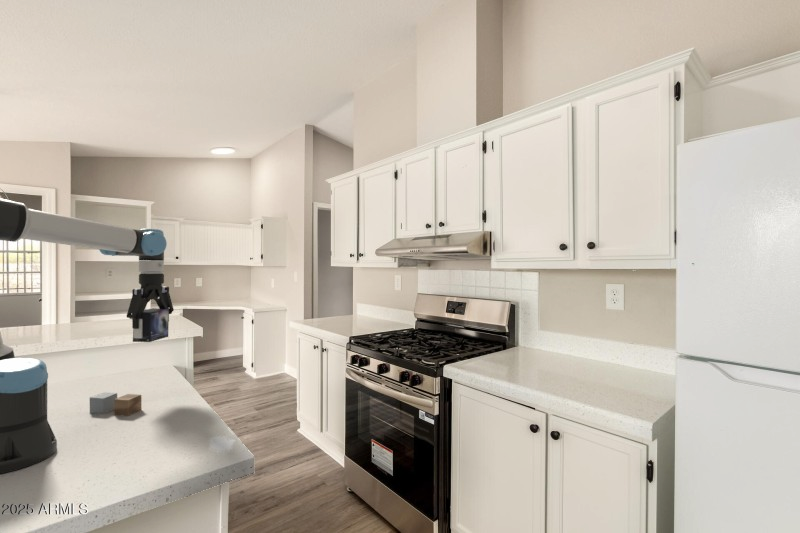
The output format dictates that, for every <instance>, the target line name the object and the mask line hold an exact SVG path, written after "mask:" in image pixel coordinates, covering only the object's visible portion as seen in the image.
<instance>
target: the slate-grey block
mask: <svg viewBox="0 0 800 533" xmlns="http://www.w3.org/2000/svg"><path fill="white" fill-rule="evenodd" d="M116 398H118V393H117V392H109V391H108V392H107V391H104V392H101V393H99V394H96V395H93V396H90V397H89V414H98V415H105V414H107V413H109V412H111V411H114V399H116Z"/></svg>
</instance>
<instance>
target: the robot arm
mask: <svg viewBox="0 0 800 533" xmlns="http://www.w3.org/2000/svg"><path fill="white" fill-rule="evenodd" d="M21 239H22V240H29V241H36V242H37V241H38V242H44V243H45V242H46V243H51V244H52V243H53V244H59V245H68V246H73V247H81V248H88V249H96V250H98V251H99V252H100V253H101V254H102V255H104V256H112V257H113V256H114V257H115V256H116V257H117V256H121V257H122V256H124V257H125V256H128V257H130V256H133V257H134V256H135V257H138V272H139V274H138V284H139V285H140V287H139V288H133V289H132V291H131V292H132V296H131V300H130V303H129V307H128V310H127V312H126V318H128V319H130V320H132V321H131V322H132V323H131V325H132V326H131V327H132V329H134V338H142V319H140V317H141V315H142V313H143V311H144V310H146V307H147V305H148V303H149V302H150V301H151V300H154V301H155V302H156V305H157V306H158V309H169V315H171V314H172V313H173V312H174V310H175V309H174V306H173V302H172V298H171V295H170V287H169V286H163V284H164V283H165V274H164V272H165V264H164V263H165V251H166V249H167V239H166V237H165V236H164V231H163V230H161V229H159V228H157V229H156V228H140V229H134V228H129V227H126V226H119V225H113V224H109V223H104V222H98V221H94V220H88V219H83V218H78V217H73V216H67V215H63V214H58V213H52V212H47V211H42V210H36V209H33V208H28V206H27V205H26V204H24V203H23V202H19V201H18V202H17V201H13V200H9V199H6V198H5V199H4V198H0V241H5V242H6V241H7V242H13V243H14V242H18V241H19V240H21ZM48 378H49V373H48V367H47V364H46V362H45V361H43V360H40V359H37V358H32V357H27V358H26V357H25V358H24V357H15V352H14V348H13V347H11V346H8V345H7V344H4V343H3V338H2V334H1V332H0V474H4V473H9V472H13V471H17V470H21V469H23V468H26V467H27V468H28V467H29V466H32V465H34V464H37V463H40V462H41V461H44V460H46V459H48V458H49V457H51V456H52V455H53V454H55V453H56V452H57V451H58V445H57V444H58V441H57V438H56V436H55V433H54V431H53V430H52V427H51V425H50V423H49V421H48Z"/></svg>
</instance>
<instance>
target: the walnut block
mask: <svg viewBox="0 0 800 533" xmlns="http://www.w3.org/2000/svg"><path fill="white" fill-rule="evenodd" d="M140 411H142V394H137V393H136V394H135V393H126V394H124V395H121V396H120V397H119V396H118V397H117V398H116V399H114V410H113V412H114V413H113V415H114V416H121V415H124V417H130V416H132V415H133V414H135V413H138V412H140ZM131 414H132V415H131Z"/></svg>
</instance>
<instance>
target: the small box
mask: <svg viewBox="0 0 800 533" xmlns="http://www.w3.org/2000/svg"><path fill="white" fill-rule="evenodd" d="M140 319H142V338H134V329H133V328H132V329H133V330H132V333H133V334H132V342H133V343H134V342H135V343H152V342H155V341H159V340H162V339H165V338H169V324H170V323H169V322H170V314H169V309H160V308H155V307H154V308H148V309H144V311H143V313H142V315H141V317H140Z"/></svg>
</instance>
